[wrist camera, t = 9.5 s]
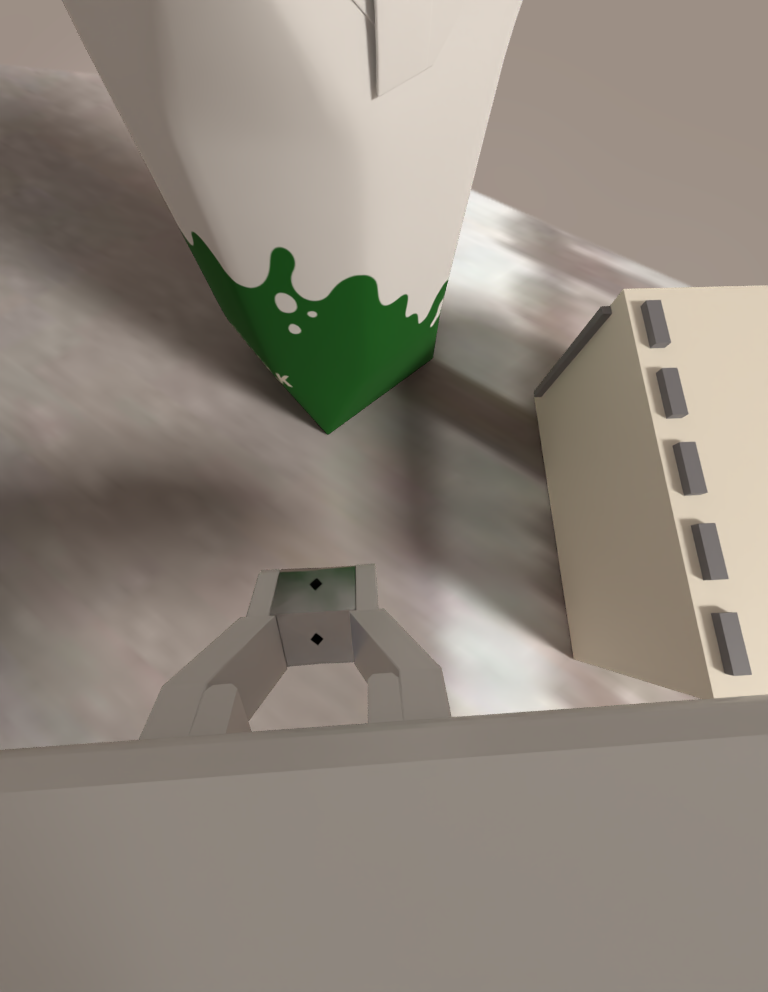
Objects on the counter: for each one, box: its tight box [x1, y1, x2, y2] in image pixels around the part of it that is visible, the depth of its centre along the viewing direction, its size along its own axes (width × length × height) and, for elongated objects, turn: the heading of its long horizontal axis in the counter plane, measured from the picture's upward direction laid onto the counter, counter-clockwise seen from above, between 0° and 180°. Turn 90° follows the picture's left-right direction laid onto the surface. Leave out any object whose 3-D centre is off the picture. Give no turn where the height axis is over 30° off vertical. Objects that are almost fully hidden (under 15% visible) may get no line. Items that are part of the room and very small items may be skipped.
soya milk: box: [62, 0, 522, 435], centre depth 13 cm, size 9×9×20 cm
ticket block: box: [534, 286, 768, 699], centre depth 16 cm, size 6×13×8 cm, turn 3°
